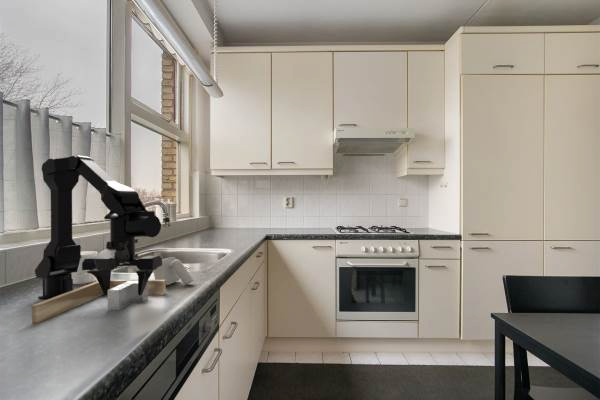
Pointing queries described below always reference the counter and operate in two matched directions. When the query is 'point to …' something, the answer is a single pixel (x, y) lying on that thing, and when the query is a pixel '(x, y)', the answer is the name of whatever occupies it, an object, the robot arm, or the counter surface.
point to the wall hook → (172, 271)
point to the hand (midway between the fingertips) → (123, 295)
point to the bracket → (125, 295)
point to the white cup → (82, 275)
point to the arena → (83, 298)
